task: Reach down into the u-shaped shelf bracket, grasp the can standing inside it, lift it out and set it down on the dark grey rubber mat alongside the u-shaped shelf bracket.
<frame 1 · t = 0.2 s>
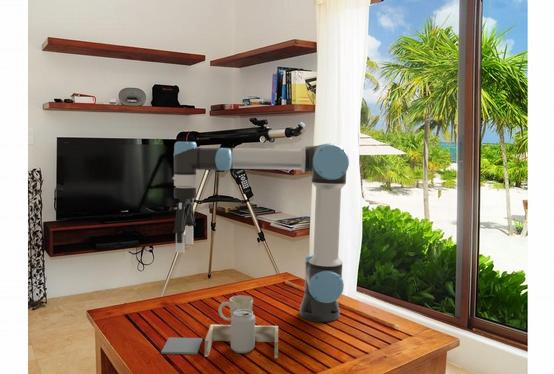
hand: (184, 248, 166), 28 cm above the table, fingers open, 13 cm apart
mug: (234, 326, 169), on the table
mat: (182, 346, 151), on the table
u-shaped shelf bracket: (242, 349, 150), on the table
can: (242, 349, 150), on the table
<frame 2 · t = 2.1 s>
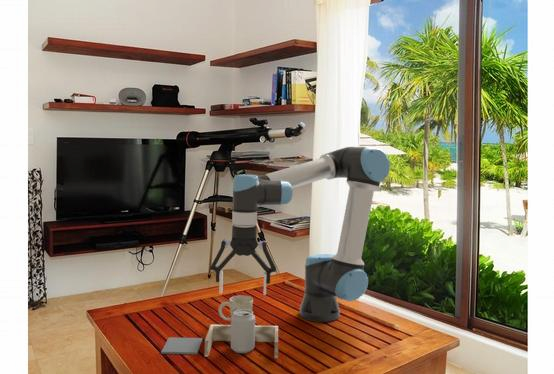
hand: (242, 293, 149), 18 cm above the table, fingers open, 13 cm apart
nothing on the table moved.
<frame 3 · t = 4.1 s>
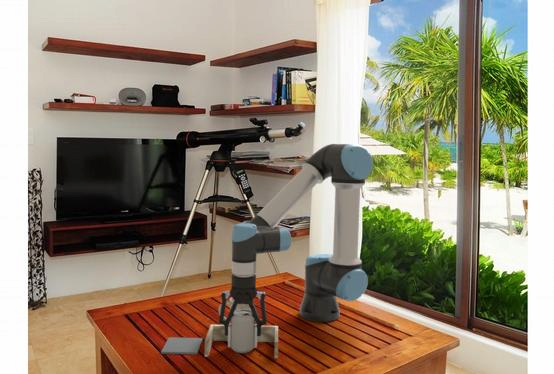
hand: (242, 345, 150), 1 cm above the table, fingers closed on can, 7 cm apart
can: (242, 349, 150), on the table, touching gripper
everything else where it was.
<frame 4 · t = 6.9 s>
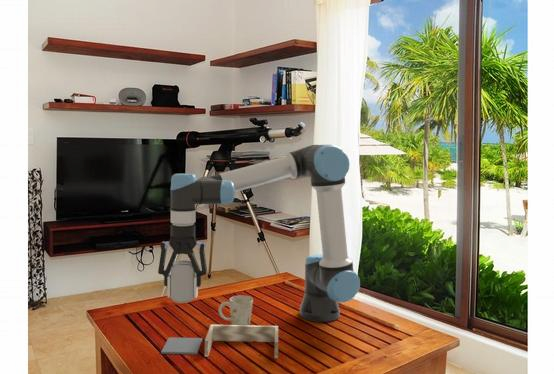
hand: (182, 296, 150), 16 cm above the table, fingers closed on can, 7 cm apart
can: (182, 300, 150), point 15 cm above the table, touching gripper
everything else where it was.
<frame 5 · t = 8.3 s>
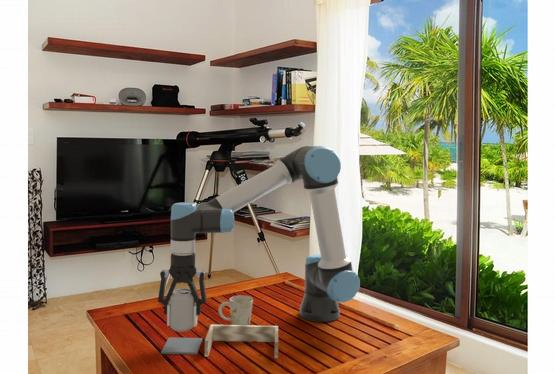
hand: (182, 324, 151), 7 cm above the table, fingers closed on can, 7 cm apart
can: (182, 328, 151), point 6 cm above the table, touching gripper
everything else where it was.
when the fingers open (3 cm above the table, at t = 9.6 s): can stays where it is, resting on mat.
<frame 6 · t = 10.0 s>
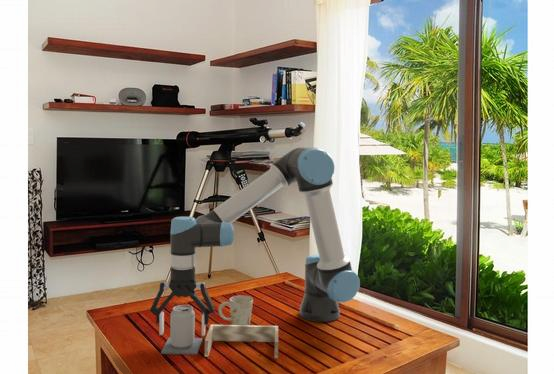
hand: (182, 333, 151), 4 cm above the table, fingers open, 12 cm apart
can: (182, 345, 151), resting on mat
everything else where it was.
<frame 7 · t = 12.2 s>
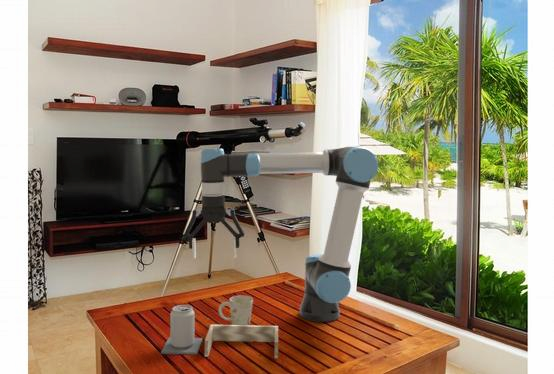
hand: (214, 257, 161), 26 cm above the table, fingers open, 13 cm apart
nothing on the table moved.
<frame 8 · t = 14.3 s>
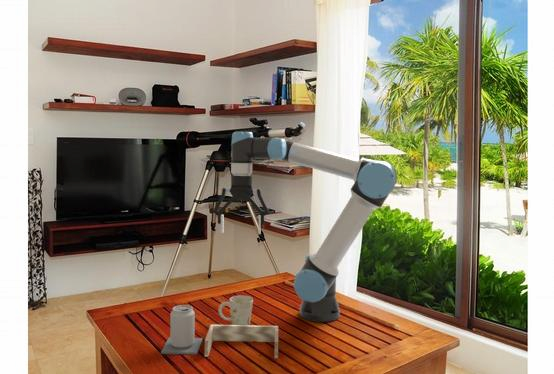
hand: (240, 233, 174), 32 cm above the table, fingers open, 13 cm apart
nothing on the table moved.
at the end: can inside the target area on the mat (0.0 cm from its centre), point 0.4 cm above the mat's base; can tilted 0°; the gripper is holding nothing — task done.
